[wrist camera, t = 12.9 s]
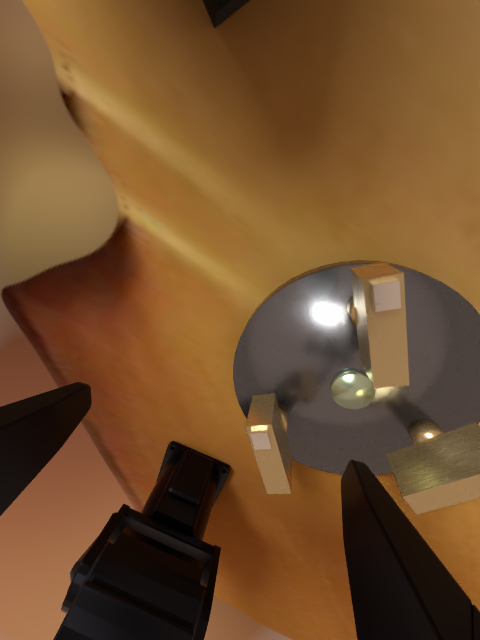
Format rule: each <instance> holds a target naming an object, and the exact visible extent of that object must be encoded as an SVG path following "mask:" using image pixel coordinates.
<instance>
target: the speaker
mask: <svg viewBox="0 0 480 640" xmlns="http://www.w3.org/2000/svg"><path fill="white" fill-rule="evenodd" d="M247 1H248V0H203V2H204V4H205V7H206V9H207V12H208V14H209V16H210V19H211V21H212V23H213V26H214V28H215V27H216V26H217V25H219V24H220V23H221V22H222V21H224V20H225V19H226V18H227V17H229V16H230V15H231V14H232V13H234V12H235V11H236V10H237V9H239V8H240V7H241V6H242V5H243V4H245V3H246V2H247Z"/></svg>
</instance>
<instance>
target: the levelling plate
mask: <svg viewBox="0 0 480 640" xmlns="http://www.w3.org/2000/svg"><path fill="white" fill-rule="evenodd" d="M379 262H380V261H348V262H339V263H334V264H330V265H325V266H321V267H318V268H316V269H313V270H310V271H307V272H305V273H303V274H301V275H299V276H296V277H294V278H292V279H291V280H289V281H288V282H286V283H285V284H283V285H281V286H280V287H278V288H277V289H276V290H275V291H274V292H272V293H271V294H270V295H269V296H268V297H267V298H266V299H265V300H264V301H263V302H262V303H261V304H260V305H259V307H258V308H257V309H256V310H255V312H254V313H253V315H252V316H251V318H250V319H249V321H248V323H247V325H246V327H245V329H244V331H243V334H242V336H241V338H240V340H239V343H238V346H237V350H236V353H235V359H234V365H233V379H234V386H235V392H236V395H237V399H238V402H239V404H240V407H241V409H242V411H243V413H244V415H245V416H246V418H248V414H249V409H250V405H251V401H252V397H253V395H261V394H270V393H275V394H276V398H277V401H278V403H281V404H282V405H284V406H285V407H286V409H287V411H288V419H287V431H286V435H287V438H288V442H289V446H290V449H291V453H292V459H293V460H295V461H297V462H299V463H301V464H304V465H307V466H309V467H312V468H315V469H319V470H322V471H326V472H331V473H337V474H343V473H344V471H345V469H346V467H347V465H348V462H349V461H350V460H351V459H354V460H357V461H361V462H364V463H365V464H366V465H367V466H368V468H369V469H370V470H371V471H372V473H373V474H374V475H381V474H389V473H393V471H392V468H391V465H390V463H389V460H388V458H387V455H386V454H389V453H391V452H394V451H397V450H400V449H402V448H405V447H408V446H410V445H413V444H414V443H413V441H412V439H411V437H410V436H409V433H408V428H409V426H410V425H411V424H412V423H413V422H415V421H417V420H420V419H429V420H433V421H435V422H436V423H437V424H438V425H439V426H440V428H441V429H442V430H443V432H444V433H446V432H449V431H451V430H454V429H457V428H460V427H462V426H465V425H468V424H471V423H473V422H476V424H478V423H479V422H480V315H479V313H478V312H477V311H476V310H475V308H474V307H473V306H472V305H471V304H470V303H469V302H468V301H467V300H466V299H465V298H463V297H462V296H461V295H460V294H459V293H458V292H456V291H455V290H453V289H452V288H450V287H448V286H447V285H445V284H444V283H442V282H440V281H438V280H436V279H434V278H431V277H429V276H427V275H425V274H423V273H420V272H418V271H416V270H414V269H410V268H407V267H404V266H400V265H397V264H392V263H386V262H384V263H386V264H388V265H390V266H392V267H394V268H395V269H397V270H399V271H401V272H403V273H404V286H405V306H406V327H407V348H408V369H409V385H408V386H396V387H383V388H373V386H372V384H371V382H370V379H369V377H368V375H367V373H366V371H365V368H364V366H363V364H362V362H361V360H360V353H359V344H358V335H357V326H356V325H355V324H354V322H353V320H352V318H351V317H350V315H349V313H348V311H347V303H348V300H349V299H350V297H351V296H352V295H353V291H352V282H351V273H350V268H354V267H359V266H364V265H369V264H374V263H379Z"/></svg>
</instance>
